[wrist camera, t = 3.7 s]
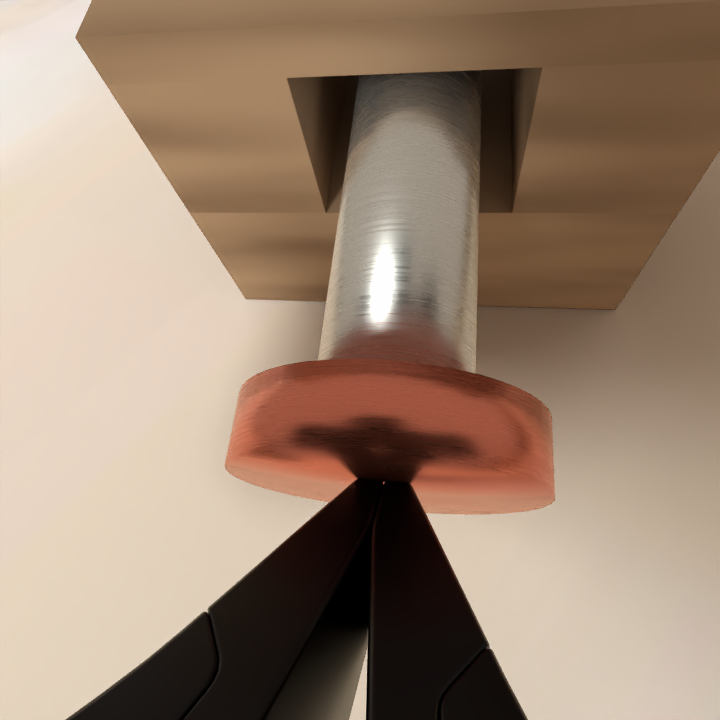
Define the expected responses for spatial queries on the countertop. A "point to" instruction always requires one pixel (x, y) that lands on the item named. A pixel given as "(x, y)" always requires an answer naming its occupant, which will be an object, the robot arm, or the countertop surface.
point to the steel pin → (401, 329)
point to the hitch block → (414, 55)
